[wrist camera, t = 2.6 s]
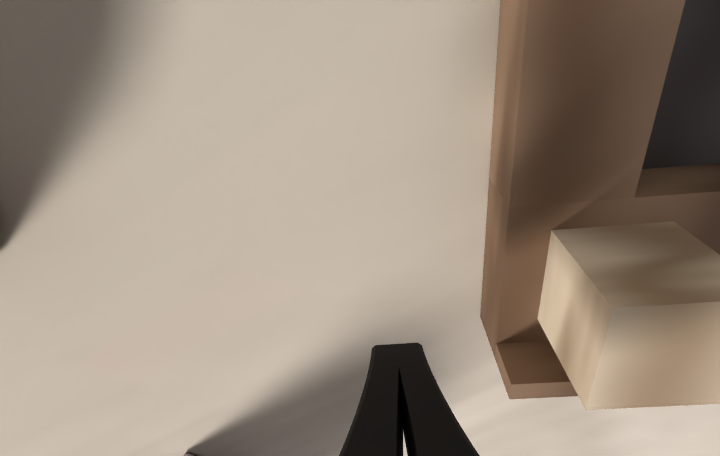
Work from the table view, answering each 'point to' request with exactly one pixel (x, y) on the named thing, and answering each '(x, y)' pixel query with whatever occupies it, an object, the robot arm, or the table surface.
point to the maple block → (634, 314)
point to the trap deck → (592, 149)
